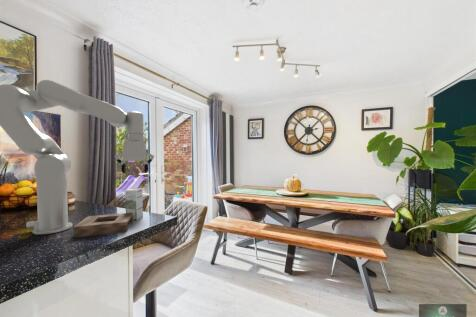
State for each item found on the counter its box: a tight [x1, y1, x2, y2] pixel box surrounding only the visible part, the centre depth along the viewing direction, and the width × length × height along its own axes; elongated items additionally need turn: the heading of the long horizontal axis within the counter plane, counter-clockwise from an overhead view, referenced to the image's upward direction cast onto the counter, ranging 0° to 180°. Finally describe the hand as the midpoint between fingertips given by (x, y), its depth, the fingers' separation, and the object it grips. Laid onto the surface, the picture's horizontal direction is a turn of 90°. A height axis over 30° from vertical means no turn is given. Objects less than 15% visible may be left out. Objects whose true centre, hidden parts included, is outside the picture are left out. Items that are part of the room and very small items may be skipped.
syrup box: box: [124, 187, 144, 221], centre depth 104 cm, size 6×6×14 cm
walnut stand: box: [72, 212, 134, 238], centre depth 89 cm, size 18×15×4 cm
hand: (135, 172), depth 103 cm, fingers open, 9 cm apart
